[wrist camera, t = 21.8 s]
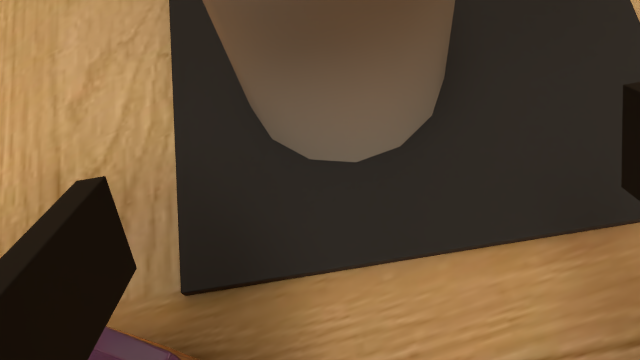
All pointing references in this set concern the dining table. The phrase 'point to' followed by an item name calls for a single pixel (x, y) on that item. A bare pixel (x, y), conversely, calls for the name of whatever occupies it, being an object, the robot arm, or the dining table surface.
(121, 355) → the plum bowl
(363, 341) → the dining table surface
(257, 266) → the place mat
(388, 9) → the cup
